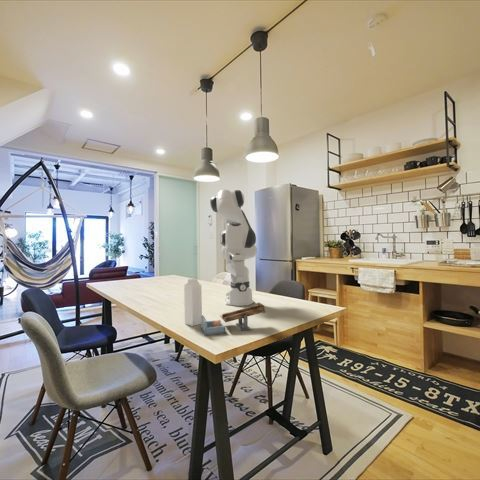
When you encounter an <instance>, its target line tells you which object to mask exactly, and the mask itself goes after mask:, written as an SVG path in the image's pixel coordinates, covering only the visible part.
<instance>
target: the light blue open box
mask: <svg viewBox="0 0 480 480" xmlns="http://www.w3.org/2000/svg"><path fill="white" fill-rule="evenodd" d="M215 321H219V322H220V323H221V326H219V327H213V323H214V322H215ZM200 326H201V327H200V328H201V331H202V333H203V335H204V336H205V337H206V336H212V335H221V334H226V325H224V323H222V320H221V319H218V320H217V319H216V320H210V321H208V320H207V318H205V316H204V315H203V314H202V316H201V324H200Z"/></svg>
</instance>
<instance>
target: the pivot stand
mask: <svg viewBox="0 0 480 480" xmlns="http://www.w3.org/2000/svg"><path fill="white" fill-rule="evenodd" d="M248 318H249V316H248V317H247V315H243V318H240V319H237V321H238V322H236V323H235V325H236V327H237V328H238V329H239V330H240V331H241V332H248V331H251V330H252V329H251V328H250V327H249V324H248V321H249V320H248Z"/></svg>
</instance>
